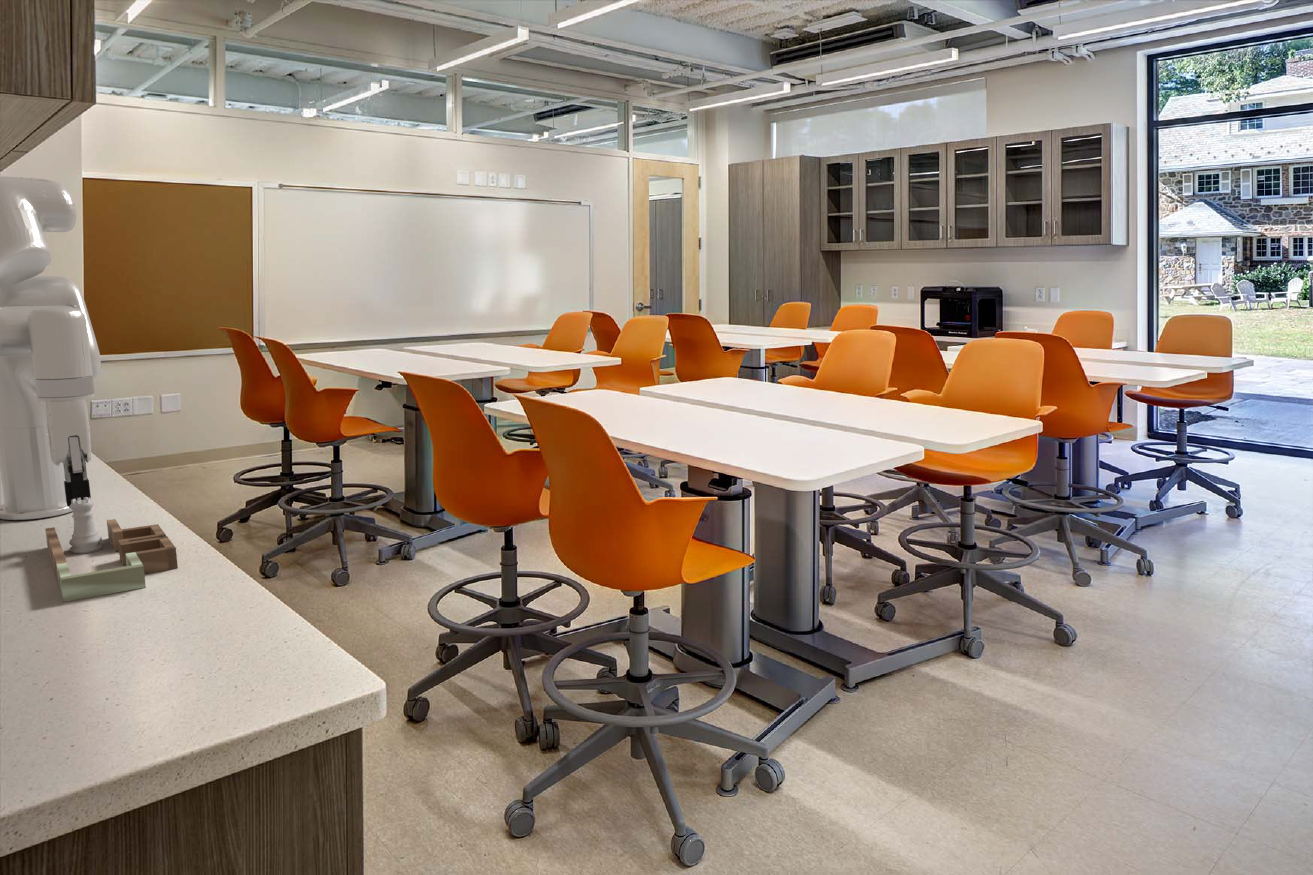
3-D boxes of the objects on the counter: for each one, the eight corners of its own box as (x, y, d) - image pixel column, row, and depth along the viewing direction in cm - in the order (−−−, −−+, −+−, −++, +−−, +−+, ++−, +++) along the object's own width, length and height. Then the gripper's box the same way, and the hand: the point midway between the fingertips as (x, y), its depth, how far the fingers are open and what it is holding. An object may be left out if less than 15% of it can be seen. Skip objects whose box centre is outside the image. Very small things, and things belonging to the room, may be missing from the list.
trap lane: (47, 547, 143) (45, 528, 142) (152, 531, 151) (150, 514, 151) (63, 601, 120) (61, 579, 119) (186, 580, 128) (184, 559, 128)
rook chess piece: (87, 555, 139) (81, 503, 138) (62, 553, 140) (56, 501, 139) (110, 546, 144) (105, 496, 142) (85, 544, 145) (80, 494, 143)
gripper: (33, 386, 146) (47, 500, 149) (39, 395, 134) (54, 518, 137) (88, 383, 150) (101, 493, 153) (99, 391, 138) (112, 511, 141)
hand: (79, 505), depth 145 cm, fingers closed
